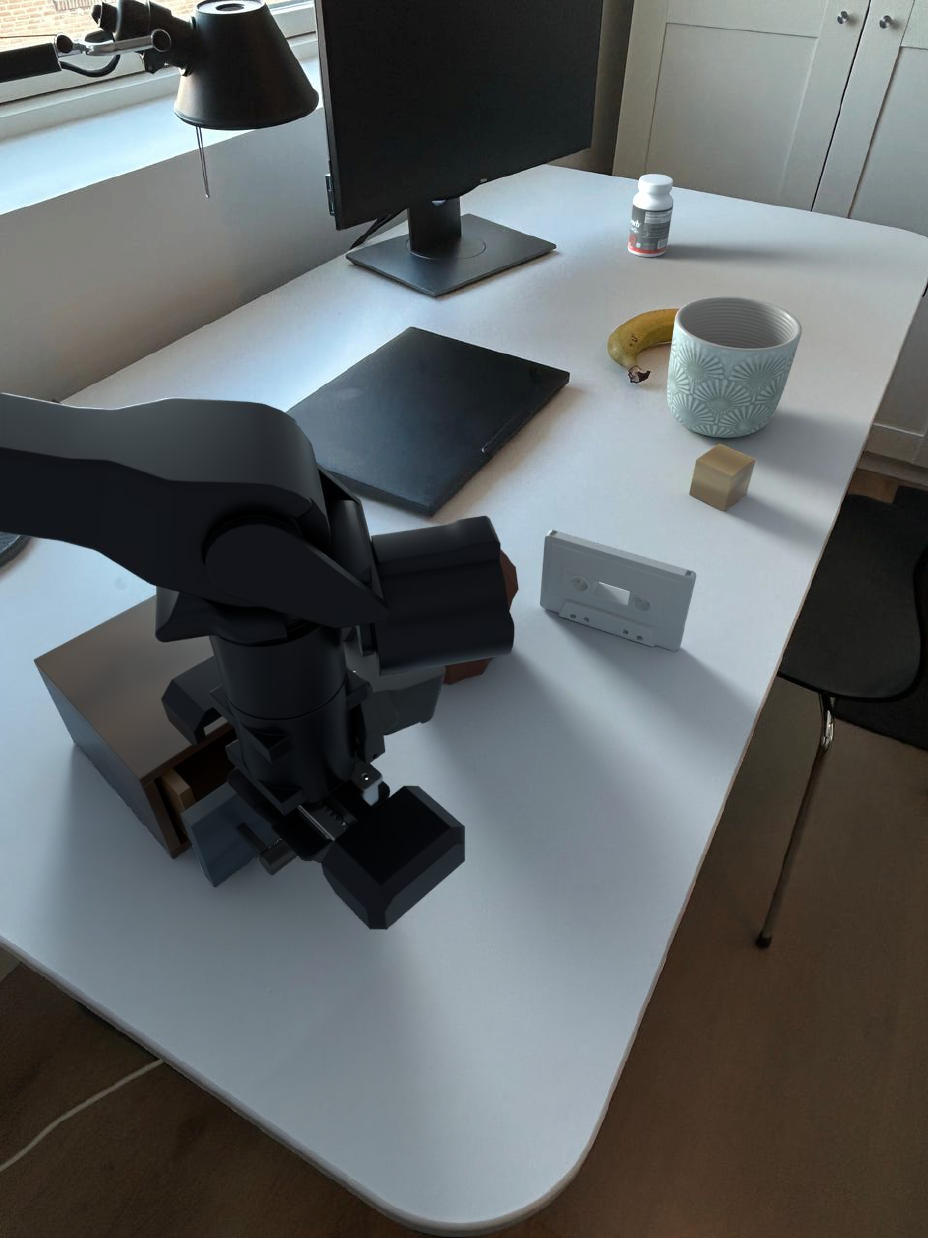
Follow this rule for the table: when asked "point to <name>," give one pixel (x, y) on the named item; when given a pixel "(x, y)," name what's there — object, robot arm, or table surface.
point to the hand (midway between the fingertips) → (322, 854)
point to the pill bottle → (651, 216)
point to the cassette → (616, 590)
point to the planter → (729, 364)
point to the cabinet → (128, 708)
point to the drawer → (219, 815)
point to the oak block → (721, 476)
